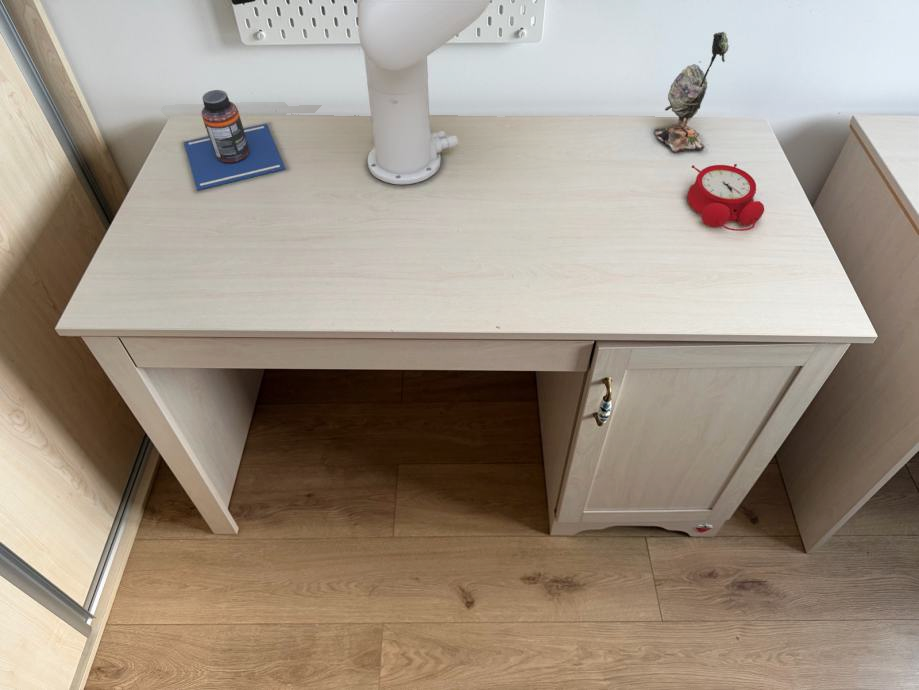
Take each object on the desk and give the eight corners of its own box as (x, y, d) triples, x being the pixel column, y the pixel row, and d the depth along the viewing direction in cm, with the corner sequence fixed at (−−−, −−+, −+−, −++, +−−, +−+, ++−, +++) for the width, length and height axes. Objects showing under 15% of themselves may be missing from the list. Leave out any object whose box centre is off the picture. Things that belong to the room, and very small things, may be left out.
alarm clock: (745, 159, 111) (784, 198, 99) (736, 194, 115) (773, 236, 103) (682, 161, 111) (714, 201, 99) (676, 196, 115) (706, 239, 103)
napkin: (266, 124, 125) (266, 123, 125) (285, 169, 116) (285, 167, 116) (184, 143, 122) (183, 141, 121) (197, 190, 113) (196, 189, 113)
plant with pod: (692, 119, 125) (724, 9, 110) (706, 155, 118) (742, 43, 103) (649, 119, 125) (674, 10, 110) (660, 155, 118) (689, 43, 103)
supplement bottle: (223, 143, 121) (204, 84, 112) (254, 146, 120) (238, 87, 112) (210, 163, 117) (190, 104, 109) (243, 166, 117) (225, 106, 108)
